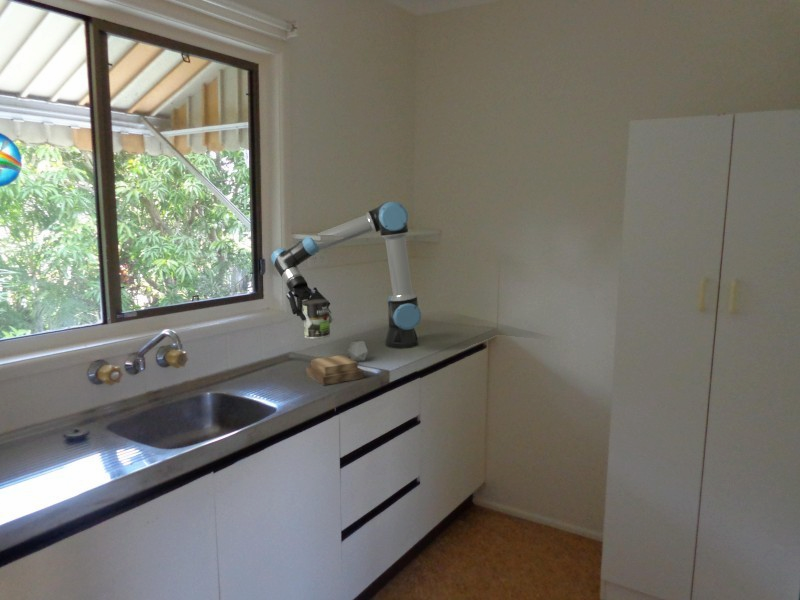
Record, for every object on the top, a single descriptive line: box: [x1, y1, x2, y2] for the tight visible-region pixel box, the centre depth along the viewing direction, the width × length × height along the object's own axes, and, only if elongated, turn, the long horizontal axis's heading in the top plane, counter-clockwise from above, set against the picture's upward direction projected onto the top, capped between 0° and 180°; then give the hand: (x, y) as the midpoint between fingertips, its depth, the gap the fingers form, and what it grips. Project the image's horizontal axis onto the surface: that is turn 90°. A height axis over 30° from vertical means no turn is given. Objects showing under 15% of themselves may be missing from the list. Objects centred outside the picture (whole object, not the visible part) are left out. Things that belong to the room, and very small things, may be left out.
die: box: [347, 340, 369, 362], centre depth 241 cm, size 8×9×10 cm
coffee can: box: [302, 298, 331, 340], centre depth 231 cm, size 10×10×14 cm
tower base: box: [305, 354, 364, 386], centre depth 218 cm, size 16×16×6 cm
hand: (321, 323), depth 229 cm, fingers closed on coffee can, 10 cm apart
